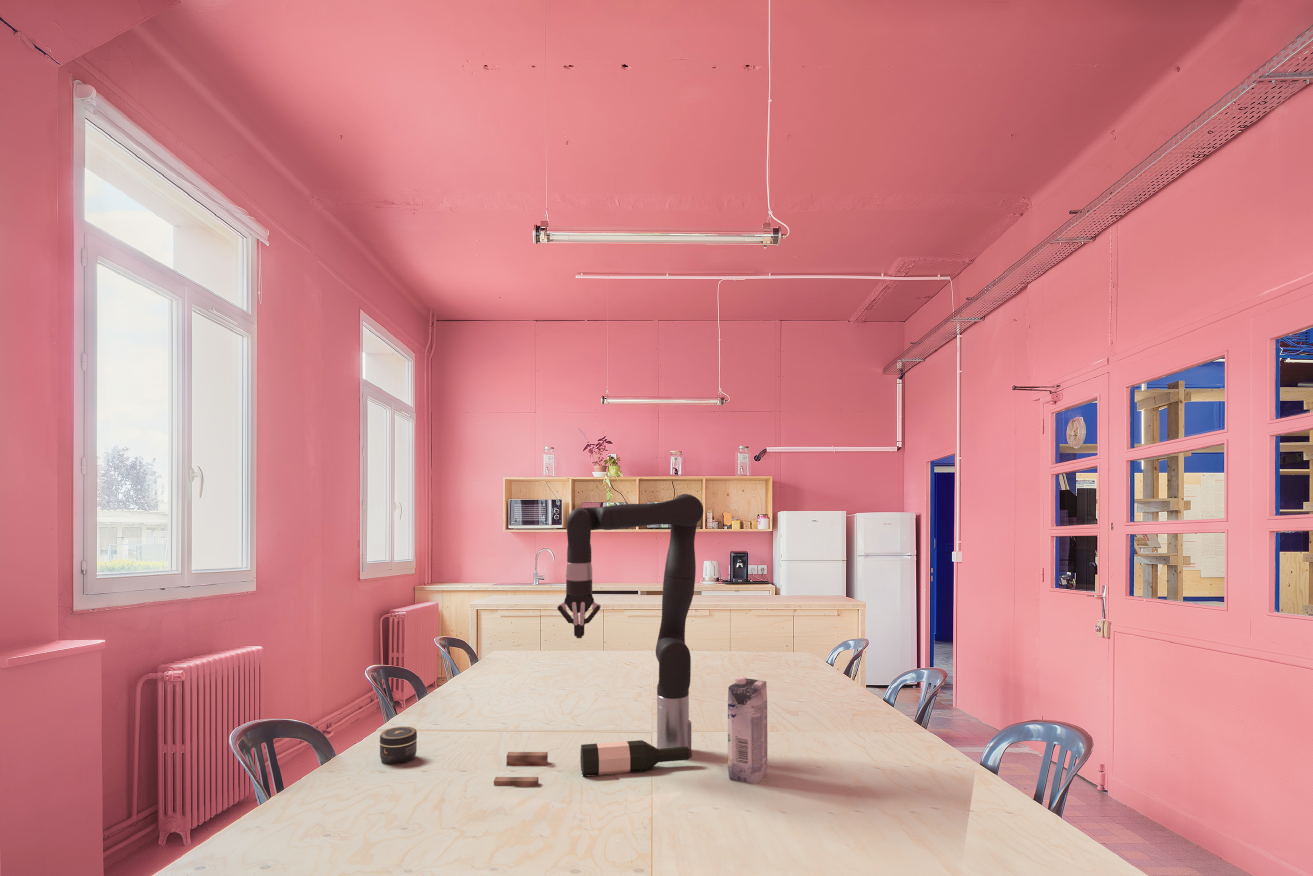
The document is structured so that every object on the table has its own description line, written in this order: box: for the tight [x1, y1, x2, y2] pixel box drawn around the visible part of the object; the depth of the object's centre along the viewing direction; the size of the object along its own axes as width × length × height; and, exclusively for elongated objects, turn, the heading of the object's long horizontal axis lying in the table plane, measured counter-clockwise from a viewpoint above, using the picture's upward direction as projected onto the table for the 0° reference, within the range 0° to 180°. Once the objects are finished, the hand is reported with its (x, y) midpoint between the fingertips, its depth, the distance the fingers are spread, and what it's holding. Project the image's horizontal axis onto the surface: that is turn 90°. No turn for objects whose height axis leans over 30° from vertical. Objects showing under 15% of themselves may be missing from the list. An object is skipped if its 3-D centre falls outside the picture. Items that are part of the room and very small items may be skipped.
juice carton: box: [727, 675, 768, 785], centre depth 198 cm, size 9×10×27 cm
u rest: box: [493, 751, 549, 787], centre depth 201 cm, size 11×19×3 cm, turn 0°
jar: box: [379, 726, 418, 765], centre depth 213 cm, size 10×10×8 cm
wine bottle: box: [579, 739, 693, 777], centre depth 205 cm, size 8×8×30 cm
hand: (579, 637), depth 218 cm, fingers closed
